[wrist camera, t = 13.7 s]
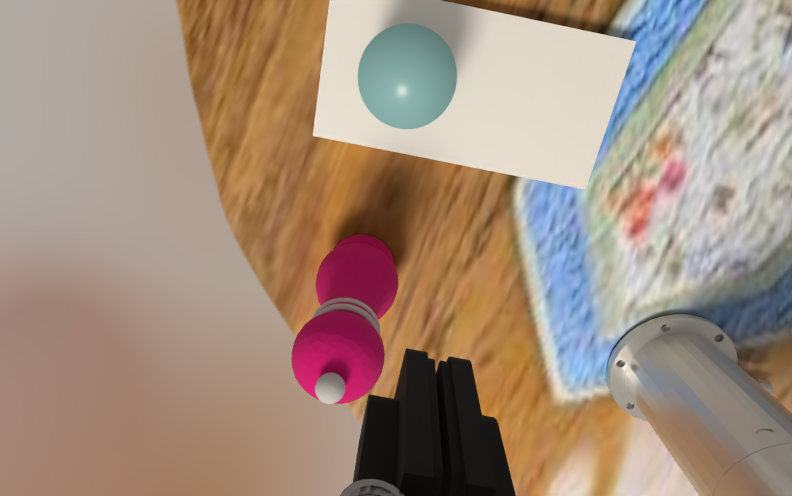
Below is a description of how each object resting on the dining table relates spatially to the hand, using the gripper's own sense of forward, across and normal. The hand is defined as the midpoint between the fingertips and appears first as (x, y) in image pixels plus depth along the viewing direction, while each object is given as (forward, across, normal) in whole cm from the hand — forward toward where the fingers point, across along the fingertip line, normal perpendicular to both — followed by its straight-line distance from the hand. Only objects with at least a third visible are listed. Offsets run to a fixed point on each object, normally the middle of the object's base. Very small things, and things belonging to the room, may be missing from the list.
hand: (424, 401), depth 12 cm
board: (+32, -3, -8) cm, 33 cm away
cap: (+29, +2, -8) cm, 30 cm away
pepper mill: (+32, +3, +10) cm, 34 cm away
